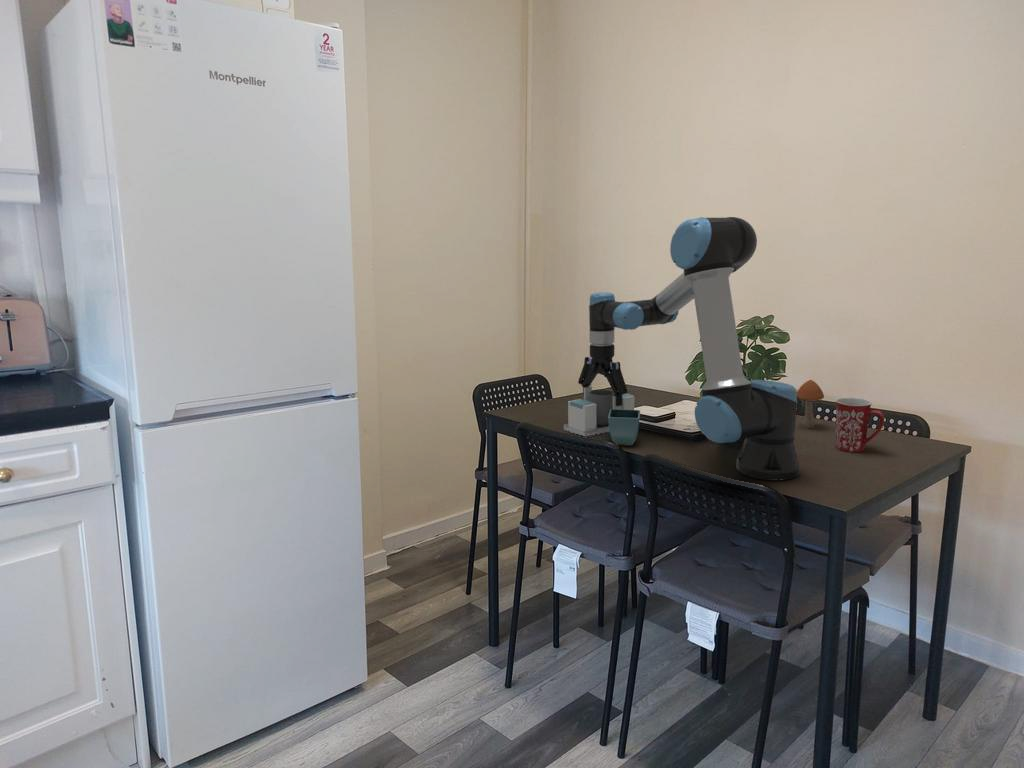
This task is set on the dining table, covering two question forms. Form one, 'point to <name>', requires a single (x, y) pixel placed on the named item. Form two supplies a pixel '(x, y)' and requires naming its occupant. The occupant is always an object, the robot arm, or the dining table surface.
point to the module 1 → (581, 415)
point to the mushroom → (809, 400)
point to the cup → (602, 404)
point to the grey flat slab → (598, 430)
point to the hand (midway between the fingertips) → (602, 411)
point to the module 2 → (627, 402)
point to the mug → (854, 423)
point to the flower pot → (623, 425)
